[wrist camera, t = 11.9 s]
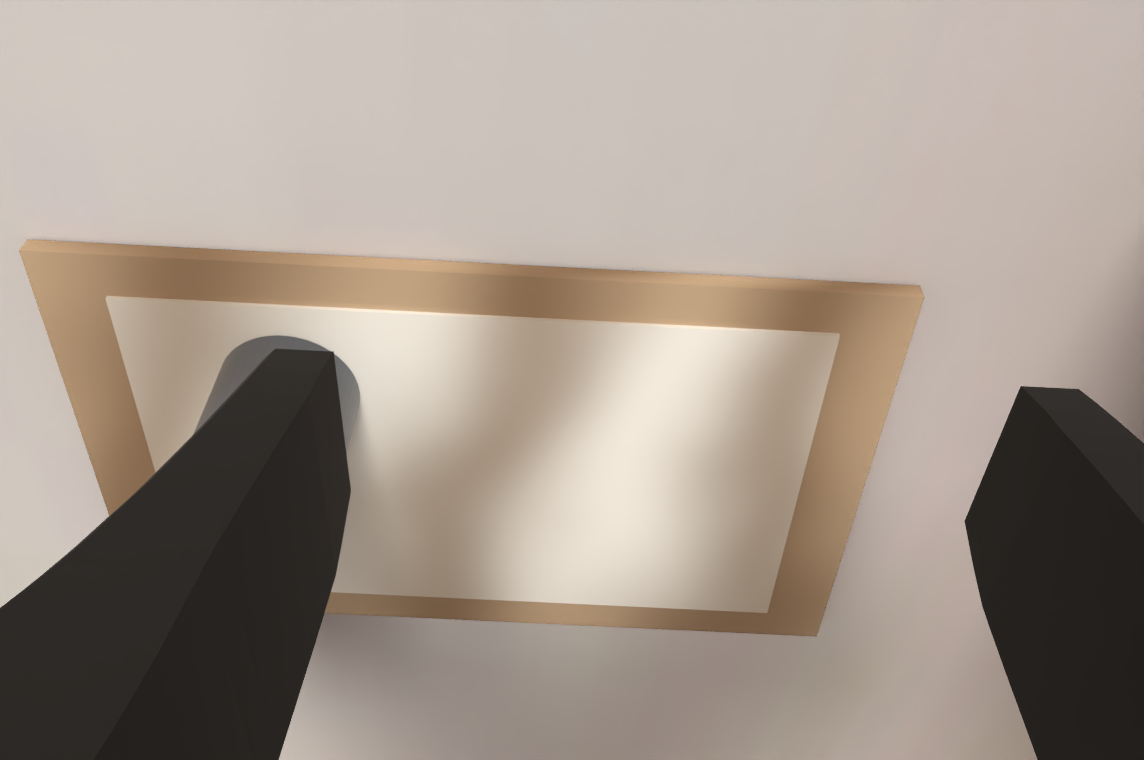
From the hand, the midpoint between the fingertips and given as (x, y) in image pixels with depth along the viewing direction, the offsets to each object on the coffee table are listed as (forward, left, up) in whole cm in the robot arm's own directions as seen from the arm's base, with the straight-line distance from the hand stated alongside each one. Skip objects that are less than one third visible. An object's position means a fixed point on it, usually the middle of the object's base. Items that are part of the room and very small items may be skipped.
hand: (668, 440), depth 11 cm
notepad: (+3, +10, -9) cm, 14 cm away
